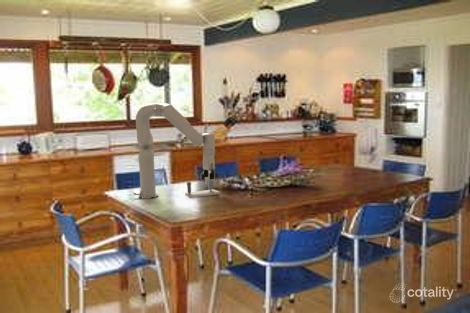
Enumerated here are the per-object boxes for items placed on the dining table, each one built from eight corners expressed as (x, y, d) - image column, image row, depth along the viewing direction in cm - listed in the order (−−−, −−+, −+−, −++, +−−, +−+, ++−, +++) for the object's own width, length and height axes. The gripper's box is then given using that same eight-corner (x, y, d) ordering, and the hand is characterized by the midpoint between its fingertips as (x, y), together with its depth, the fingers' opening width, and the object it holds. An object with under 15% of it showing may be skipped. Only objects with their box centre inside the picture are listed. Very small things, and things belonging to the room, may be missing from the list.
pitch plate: (190, 197, 315) (189, 183, 314) (184, 195, 324) (184, 180, 323) (219, 194, 324) (219, 179, 323) (213, 191, 333) (212, 177, 332)
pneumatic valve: (218, 186, 350) (217, 169, 348) (202, 188, 345) (201, 171, 343) (215, 185, 355) (214, 168, 353) (199, 187, 350) (198, 170, 349)
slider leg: (209, 191, 324) (209, 180, 324) (207, 190, 327) (207, 179, 326) (213, 190, 326) (213, 180, 325) (211, 190, 328) (211, 179, 328)
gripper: (198, 151, 329) (198, 176, 331) (209, 153, 314) (209, 180, 316) (209, 150, 333) (209, 175, 335) (219, 153, 317) (219, 179, 319)
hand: (209, 178), depth 325 cm, fingers open, 9 cm apart
